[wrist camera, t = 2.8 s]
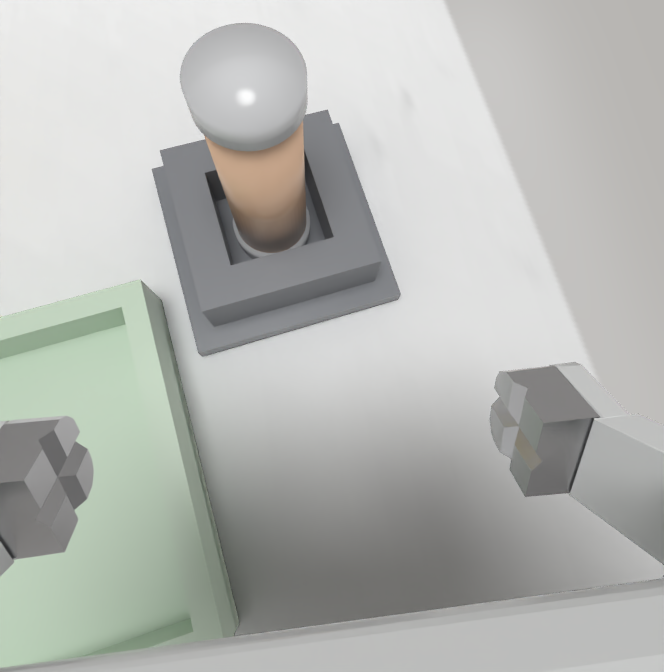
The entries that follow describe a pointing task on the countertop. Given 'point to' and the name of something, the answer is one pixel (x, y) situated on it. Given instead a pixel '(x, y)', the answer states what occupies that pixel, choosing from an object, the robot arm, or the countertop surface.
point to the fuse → (253, 130)
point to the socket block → (279, 268)
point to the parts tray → (113, 486)
